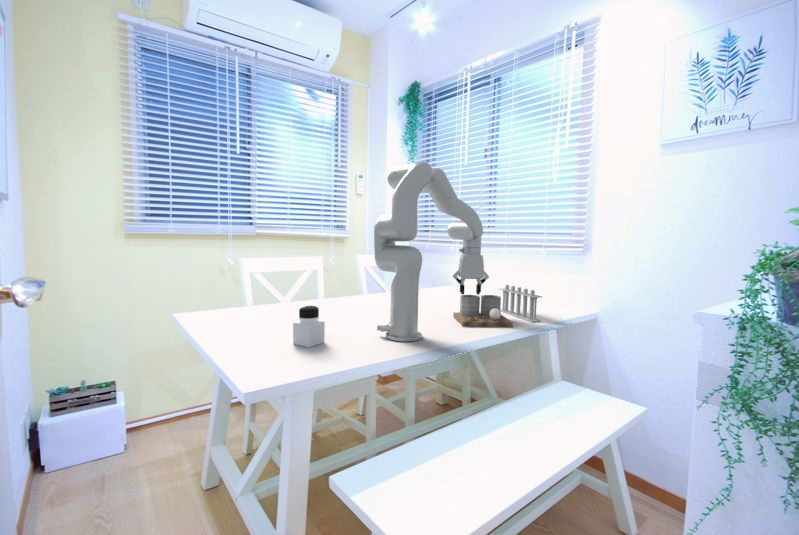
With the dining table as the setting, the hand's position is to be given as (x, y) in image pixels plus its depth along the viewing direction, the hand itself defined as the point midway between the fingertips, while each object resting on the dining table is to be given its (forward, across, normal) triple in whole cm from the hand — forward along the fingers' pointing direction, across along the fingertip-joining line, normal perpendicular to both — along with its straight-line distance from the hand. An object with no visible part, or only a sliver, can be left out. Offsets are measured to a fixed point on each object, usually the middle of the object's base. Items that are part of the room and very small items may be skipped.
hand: (470, 293), depth 160 cm
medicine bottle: (+11, -61, -37) cm, 72 cm away
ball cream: (+7, +8, -10) cm, 14 cm away
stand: (+11, +4, -4) cm, 13 cm away
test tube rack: (+11, +24, +7) cm, 27 cm away
